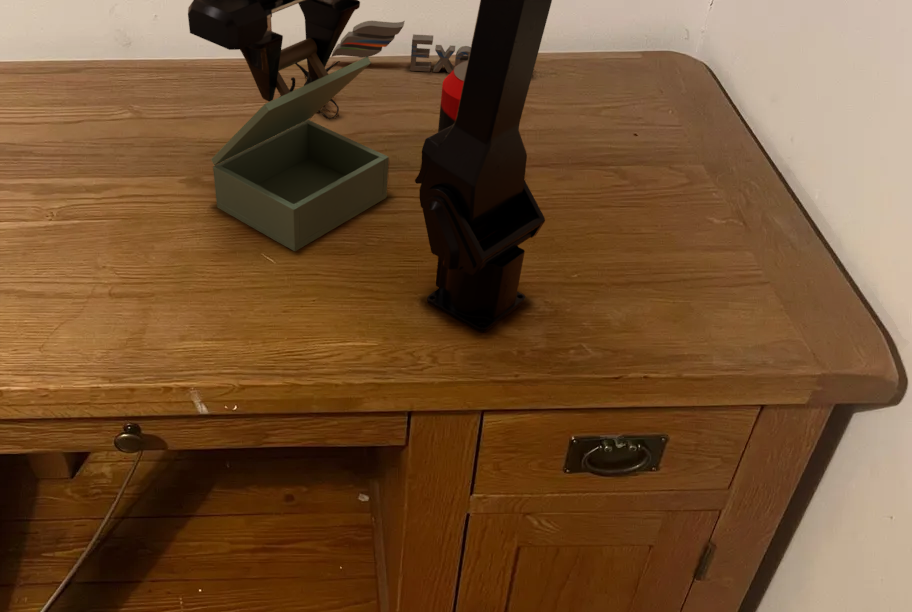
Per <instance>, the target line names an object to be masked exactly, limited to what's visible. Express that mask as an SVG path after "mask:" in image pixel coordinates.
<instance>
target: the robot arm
mask: <svg viewBox="0 0 912 612" xmlns="http://www.w3.org/2000/svg"><path fill="white" fill-rule="evenodd" d="M552 3H553V0H480V1H479V5H478V10H477V16H476V19H475V25H474V30H473V34H472V39H471V44H470V47H471V49H470V54H469V59H468V63H467V68H466V73H465V78H464V83H463V88H462V93H461V98H460V102H459V107H458V112H457V117H456V120H455V123H454V124H453V125H452V126H450V127H448V128H446V129H444V130H442V131H440V132H438V131H437V132H436V133H434V134H432V135H430V136H428V137H426V138H425V139H424V143H423V145H422V149H421V162H420V163H421V164H420V170H419V173H418V175H417V176H416V177H415V179H414V183H415V184H416V185H417V184H418V185H420V187H419V196H418V197H419V204H420V205H419V206H420V207H421V209H422V212H423V218H424V222H425V228H426V233H427V239H428V244H429V247H430V252H431V253H432V255H434V256H435V257H437V264H436V273H435V287H436V288H437V289H436V290H433V292H431V293H429V294H428V295H427V296H426V303H427V304H428V305H430V306H432V307H434V308H436V309H437V310H439V311H441V312H443V313H444V314H446V315H448V316H449V317H451V318H453V319H455V320H457V321H459V322H460V323H462V324H464V325H466V326H468V327H470V328H472V329H474V330H475V331H477V332H478V333H486V332H487V331H489V330H490V329H491V328H493V327H494V326H495V325H497V324H498V323H499V322H501V321H503V319H505V318H506V317H507V316H508V315H510V314H511V313H512V312H514V311H515V310H516V309H517V308H519V307H521V306H522V305H523V304H524V303H525V302H526V295H525V294H523V293H522V292H520V291H519V285H520V279H521V273H522V268H523V262H524V257H525V252H526V251H525V249H523V248H521V247H519V246H520V245H521V244H523V243H524V242H526V241H527V240H529V239H532V238H534V237H536V236H537V235H538V233H539V232H540V230H541V228H542V227H543V225H544V224H545V222H546V218H545V215H544V214H543V212H542V210H541V208H540V206H539V204H538V203H537V200H536V198H535V197H534V195H533V193H532V192H531V189H530V187H529V185H528V183H527V182H526V180H525V178H526V168H527V158H528V153H527V150H526V148H525V143H524V141H523V138H522V135H521V133H520V123H521V120H522V119H521V118H522V116H523V113H524V112H523V111H524V107H525V104H526V100H527V97H528V92H529V89H530V85H531V81H532V78H533V74H534V70H535V66H536V63H537V59H538V55H539V51H540V47H541V43H542V39H543V37H544V33H545V29H546V26H547V20H548V17H549V13H550V9H551V6H552ZM297 4H298V6H299V9H300V11H301V12H302V14H303V18H304V30H305V31H304V32H305V39H307V38H311V39H313V40H314V41H315V43H316V45H317V53H316V54H317V55H318V57H319V59H320V61H321V62H322V64H323V66H324V68H325V69H326V66H327V64H328V62H329V59H330V58H331V56H332V53H333V51H334V49H335V48H336V46H337V44H338V41H339V39H340V37H341V35H342V33H343V32H344V29H346V26H347V25H348V23H349V21H350V19H352V15H353V14H354V12H355V11H356V10H358V9H360V7H361V1H360V0H192V2H191V3H190V5H189V6H188V7H187V18H188V29H189V34H191V35H193V36H196V37H198V38H201V39H203V40H204V41H205V40H206V41H207V42H210V43H212V44H215V45H216V46H219V47H222V48H224V49H226V50H229V51H238V50H239V51H240V52H241V54H242V56H243V57H244V60H245V61H246V64H247V67H248V68H249V70H250V73H251V75H252V78H253V80H254V82H255V85H256V86H257V89H258V91H259V94H260V96H261V98H262V99H263V100H265V101H266V102H270V101H272V100H274V99H275V93H276V90H277V88H276V84H277V76H278V69H279V62H280V55H281V50H282V47H283V40H284V36H283V35H282V34H280V33H278V32H275V31H273V30H272V29H273V28H272V27H273V26H272V17H273V14H275V13H277V12H279V11H280V12H281V11H283V10H285V9H288V8H290V7H293V6H295V5H297ZM306 63H307V71H308V72H309V76H310V78H313V79H315V80H317V79H319V77H318V75H317V74H316V72H315V70H314V68H313V67H312V65H311V63H310V61H309V60H308V58H307V59H306Z"/></svg>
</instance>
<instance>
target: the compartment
mask: <svg viewBox="0 0 912 612" xmlns="http://www.w3.org/2000/svg"><path fill="white" fill-rule="evenodd" d="M389 162H390V157H389V156H388V155H386V154H384V153H381V152H379V151H378V150H376V149H372V148H370V147H368V146H366V145H365V144H362V143H360V142H358V141H356V140H354V139H351V138H349V137H348V136H345V135H343V134H341V133H339V132H336V131H334V130H332V129H329V128H327V127H326V126H323V125H321V124H319V123H316V122H314V121H313V120H310V119H308V120H306V121H304V122H302V123H300V124H298V125H296V126H294V127H292V128H290V129H288V130H286V131H284V132H282V133H280V134H277V135H275V136H273V137H271V138H269V139H267V140H265V141H263V142H261V143H259V144H257V145H255V146H253V147H251V148H249V149H247V150H245V151H243V152H241V153H239V154H237V155H235V156H233V157H231V158H229V159H227V160H225V161H222V162H220V163H218V164H216V165H213V166H212V172H213V180H214V183H213V184H214V193H215V201H216V202H215V203H216V208H217V209H219V210H221V211H223V212H225V213H226V214H228V215H229V216H231V217H233V218H235V219H237V220H238V221H240V222H242V223H243V224H245V225H247V226H249V227H250V228H253V230H256V231H258V232H259V233H261V234H263V235H265V236H267V237H268V238H271V239H272V240H273V241H275V242H277V243H279V244H280V245H282V246H284V247H285V248H288V249H289V250H291V251H293V252H297V251H299V250H301V249H302V248H303V247H306V246H307V245H309V244H311V243H313V242H315V240H317V239H319V238H321V237H322V236H324V235H325V234H327V233H329V232H331V231H332V230H334V229H336V228H338V227H340V226H341V225H342V224H344V223H346V222H348V221H350V220H352V219H353V218H354V217H356V216H358V215H360V214H362V213H364V212H365V211H367V210H369V209H370V208H371V207H374V206H375V205H376V204H378V203H381V202H382V201H383V200H385V199H387V196H388V181H389V180H388V179H389Z"/></svg>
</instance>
